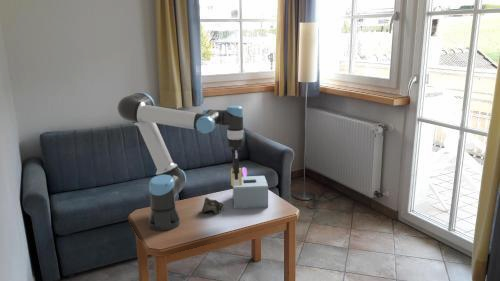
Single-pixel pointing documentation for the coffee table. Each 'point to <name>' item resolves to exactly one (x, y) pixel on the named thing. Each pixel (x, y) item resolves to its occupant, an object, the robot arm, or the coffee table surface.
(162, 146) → the robot arm
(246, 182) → the coin box
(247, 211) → the coffee table surface
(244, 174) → the toy chair
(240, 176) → the block
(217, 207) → the fossil
